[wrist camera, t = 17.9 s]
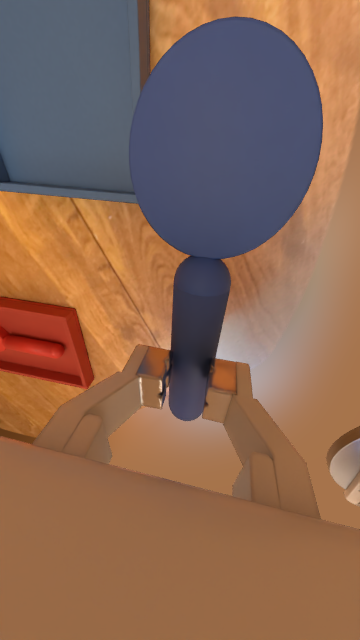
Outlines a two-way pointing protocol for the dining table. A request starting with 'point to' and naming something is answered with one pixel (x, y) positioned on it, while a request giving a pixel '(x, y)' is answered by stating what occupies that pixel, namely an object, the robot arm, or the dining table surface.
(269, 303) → the dining table surface
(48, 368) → the red tray
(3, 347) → the red spoon
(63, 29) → the blue tray
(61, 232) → the dining table surface
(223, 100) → the blue spoon
